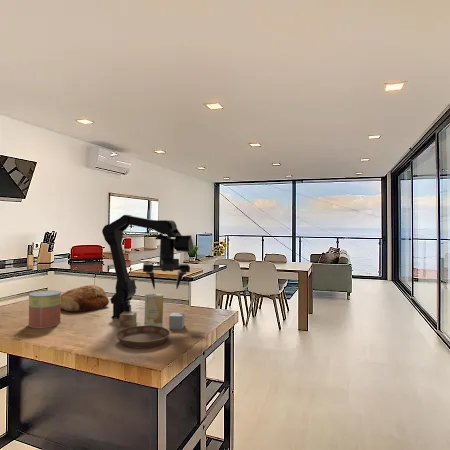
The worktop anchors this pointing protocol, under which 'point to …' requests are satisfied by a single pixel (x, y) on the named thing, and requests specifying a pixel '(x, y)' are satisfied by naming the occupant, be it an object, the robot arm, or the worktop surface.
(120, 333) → the plant saucer
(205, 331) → the worktop surface
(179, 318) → the slate grey block
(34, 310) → the canned food
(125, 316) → the walnut block
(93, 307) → the bread
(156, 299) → the skincare box
